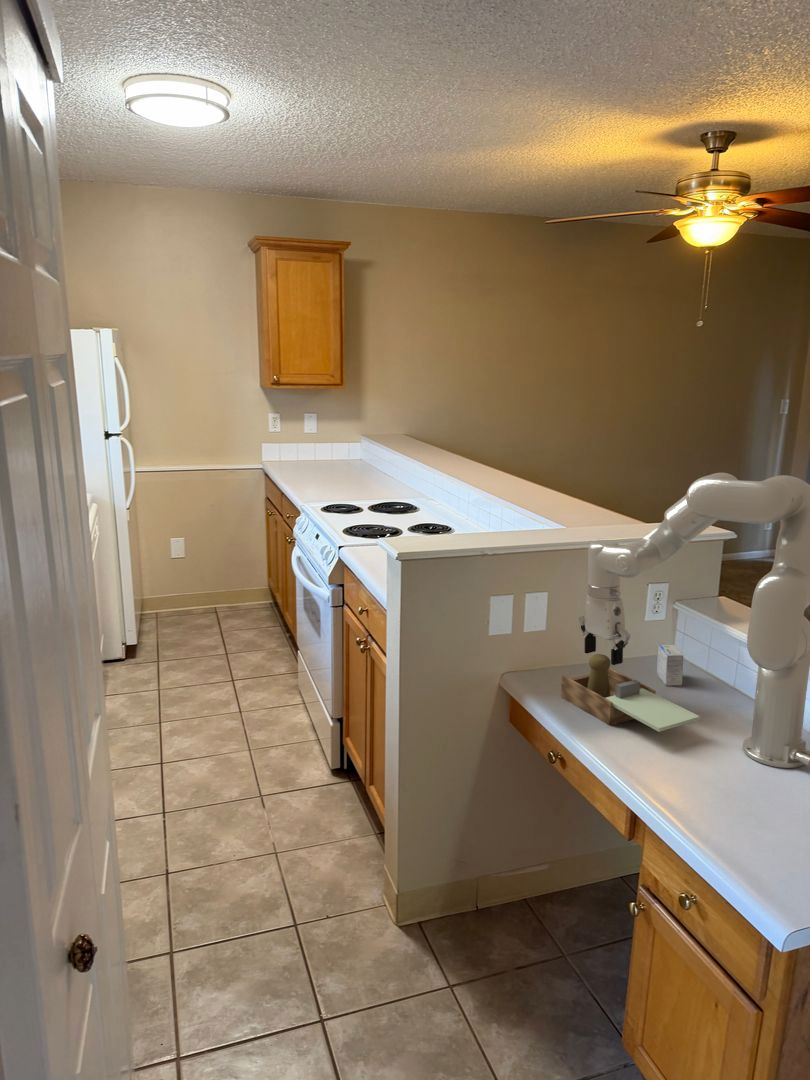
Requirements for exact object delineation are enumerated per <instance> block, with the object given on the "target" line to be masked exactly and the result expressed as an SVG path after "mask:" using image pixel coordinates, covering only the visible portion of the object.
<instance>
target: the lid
mask: <svg viewBox="0 0 810 1080" xmlns="http://www.w3.org/2000/svg"><path fill="white" fill-rule="evenodd" d="M640 683H641V681H638V680H637V679H633V680H632V681H628V682H624V683H620V684H616V695H614V696H610V697H606V699H608V700H610V701H611V702H612V706H613V707H615V708H617V709H619V710H620V711H622V712H624V713H626V714H628V715H629V716H631V717H633V718H635V720H637V721H638V722H640V723H642V724H644V725H646V726H648V727H650V728H651V729H653V730H654V731H657V732H659V733H661V732H662V731H666V730H670V729H673V728H677V727H679V726H680V727H681V726H684V725H686V724H689V723H693V722H697V721H700V718H701V716H699V715H698V714H695V713H694V712H692V711H690V710H688V709H686V708H683V707H682V706H680V705H677V704H676V703H673V702H672V701H669V700H668V699H665V698H664V697H663V696H662V697H661V696H659V695H658V694H656V693H655V694H654V693H652V692H650V691H648V690H646V689H644V688H641V689H640Z"/></svg>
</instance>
